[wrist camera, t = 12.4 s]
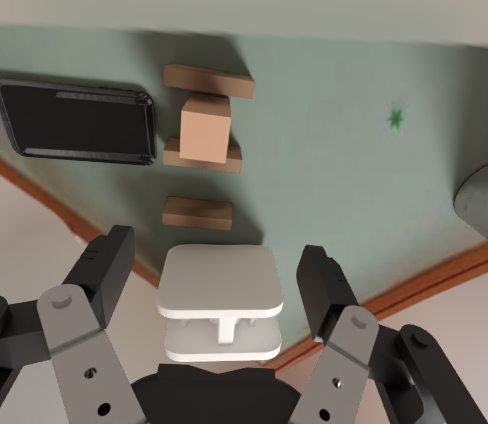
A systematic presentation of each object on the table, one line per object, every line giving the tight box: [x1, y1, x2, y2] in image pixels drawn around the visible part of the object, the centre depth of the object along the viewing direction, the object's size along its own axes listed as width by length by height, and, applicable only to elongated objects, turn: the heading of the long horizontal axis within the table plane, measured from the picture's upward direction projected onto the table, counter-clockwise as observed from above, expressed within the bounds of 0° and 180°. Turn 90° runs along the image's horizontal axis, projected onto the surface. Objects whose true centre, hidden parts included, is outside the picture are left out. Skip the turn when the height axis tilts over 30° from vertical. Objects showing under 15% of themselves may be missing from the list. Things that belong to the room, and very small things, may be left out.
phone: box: [0, 79, 157, 166], centre depth 30 cm, size 8×1×15 cm
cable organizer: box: [156, 244, 284, 362], centre depth 38 cm, size 15×11×12 cm
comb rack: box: [162, 63, 255, 231], centre depth 31 cm, size 8×16×4 cm, turn 171°
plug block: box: [180, 93, 231, 163], centre depth 27 cm, size 4×4×8 cm
